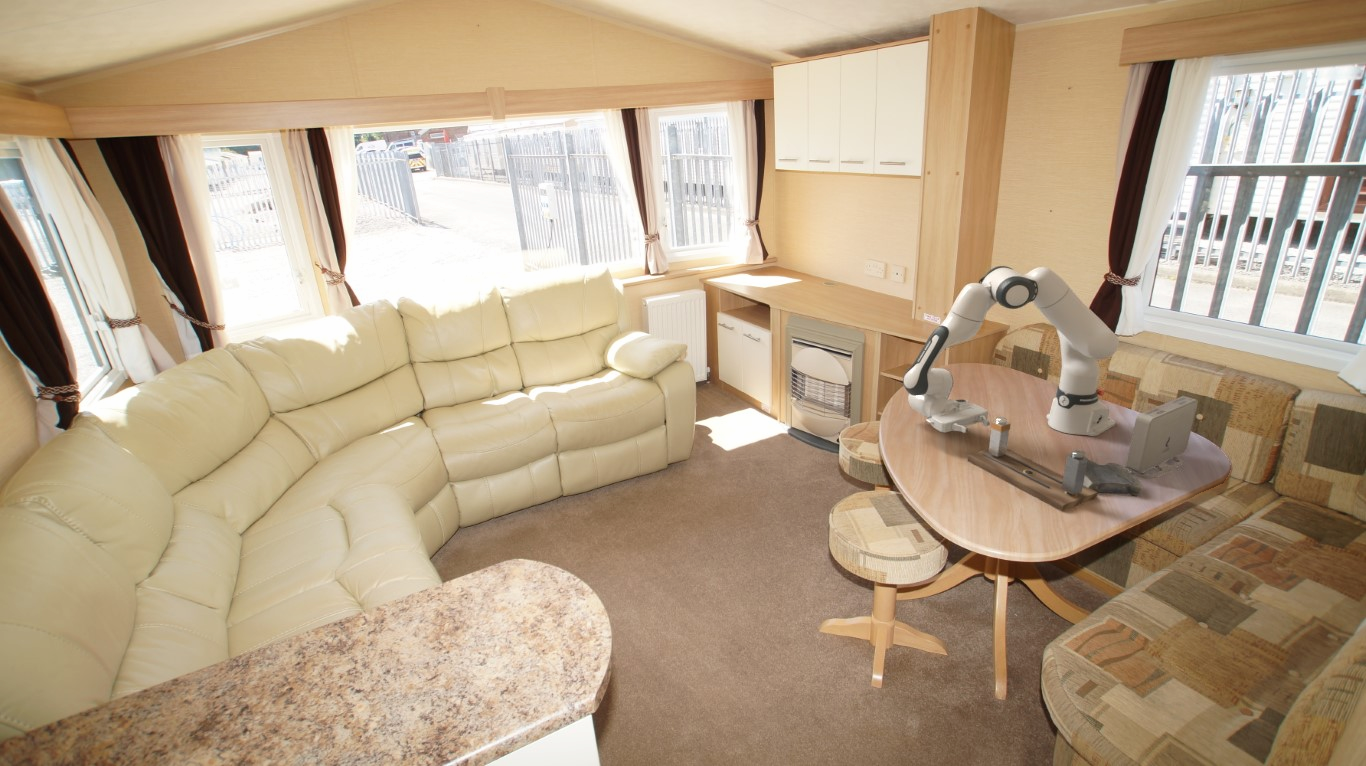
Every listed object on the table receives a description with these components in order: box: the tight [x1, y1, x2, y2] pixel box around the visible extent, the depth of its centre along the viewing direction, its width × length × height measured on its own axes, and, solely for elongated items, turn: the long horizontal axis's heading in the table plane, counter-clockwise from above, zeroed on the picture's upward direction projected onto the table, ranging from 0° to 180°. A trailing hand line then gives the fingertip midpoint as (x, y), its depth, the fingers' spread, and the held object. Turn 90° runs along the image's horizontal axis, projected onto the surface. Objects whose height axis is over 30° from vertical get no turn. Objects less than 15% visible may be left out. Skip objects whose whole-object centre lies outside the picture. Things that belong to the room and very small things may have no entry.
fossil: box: [1083, 459, 1143, 497], centre depth 189 cm, size 15×16×4 cm
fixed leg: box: [1061, 449, 1089, 495], centre depth 179 cm, size 4×4×13 cm
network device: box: [1125, 395, 1199, 479], centre depth 193 cm, size 26×9×20 cm, turn 117°
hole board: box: [967, 448, 1099, 512], centre depth 194 cm, size 14×34×3 cm, turn 23°
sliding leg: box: [988, 416, 1011, 457], centre depth 201 cm, size 4×4×13 cm
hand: (977, 427), depth 209 cm, fingers open, 8 cm apart
